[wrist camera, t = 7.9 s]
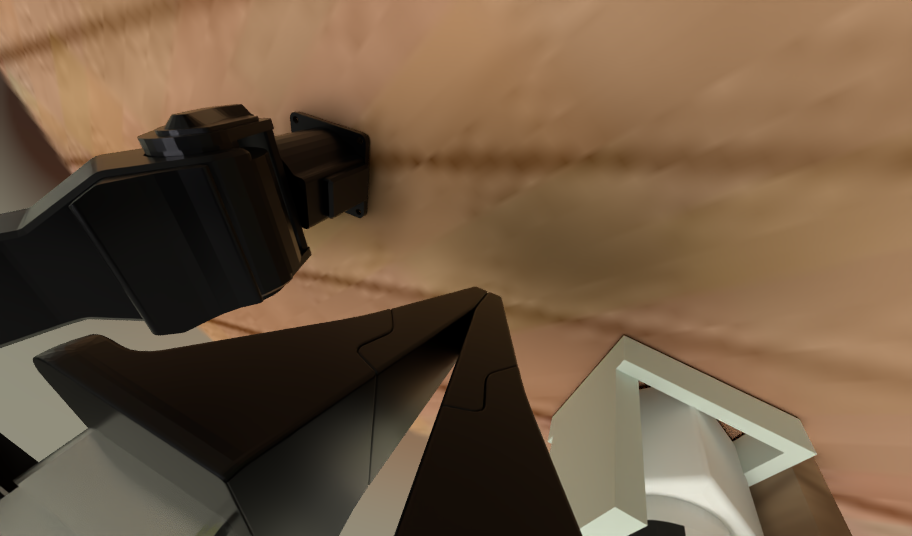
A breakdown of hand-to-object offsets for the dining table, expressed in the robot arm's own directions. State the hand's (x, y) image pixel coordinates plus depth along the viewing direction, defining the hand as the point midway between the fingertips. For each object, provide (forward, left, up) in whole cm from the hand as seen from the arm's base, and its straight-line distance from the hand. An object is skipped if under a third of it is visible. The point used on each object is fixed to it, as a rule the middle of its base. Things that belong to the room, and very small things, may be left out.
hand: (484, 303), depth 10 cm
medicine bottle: (+14, -15, -13) cm, 24 cm away
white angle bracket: (+14, -15, -13) cm, 24 cm away
